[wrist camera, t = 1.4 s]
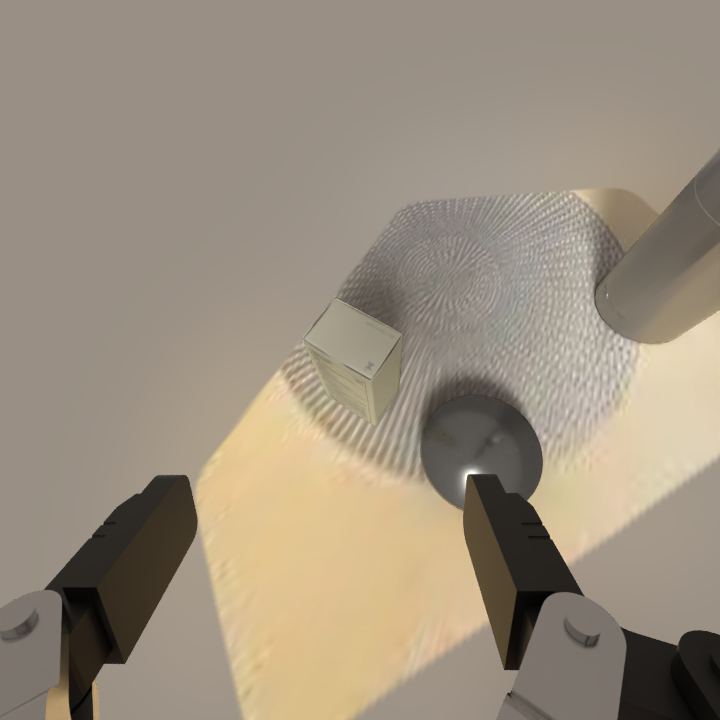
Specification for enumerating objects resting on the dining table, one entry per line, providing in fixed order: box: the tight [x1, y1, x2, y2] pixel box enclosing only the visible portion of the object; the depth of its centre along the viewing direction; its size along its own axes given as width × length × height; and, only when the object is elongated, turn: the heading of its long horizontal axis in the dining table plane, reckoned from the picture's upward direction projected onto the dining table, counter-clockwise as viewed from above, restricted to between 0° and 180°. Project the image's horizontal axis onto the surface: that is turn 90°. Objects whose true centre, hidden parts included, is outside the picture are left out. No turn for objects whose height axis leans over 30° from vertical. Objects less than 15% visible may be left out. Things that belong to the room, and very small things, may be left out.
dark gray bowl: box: [420, 395, 543, 511], centre depth 33 cm, size 10×10×3 cm
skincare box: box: [302, 299, 403, 426], centre depth 32 cm, size 6×4×12 cm
